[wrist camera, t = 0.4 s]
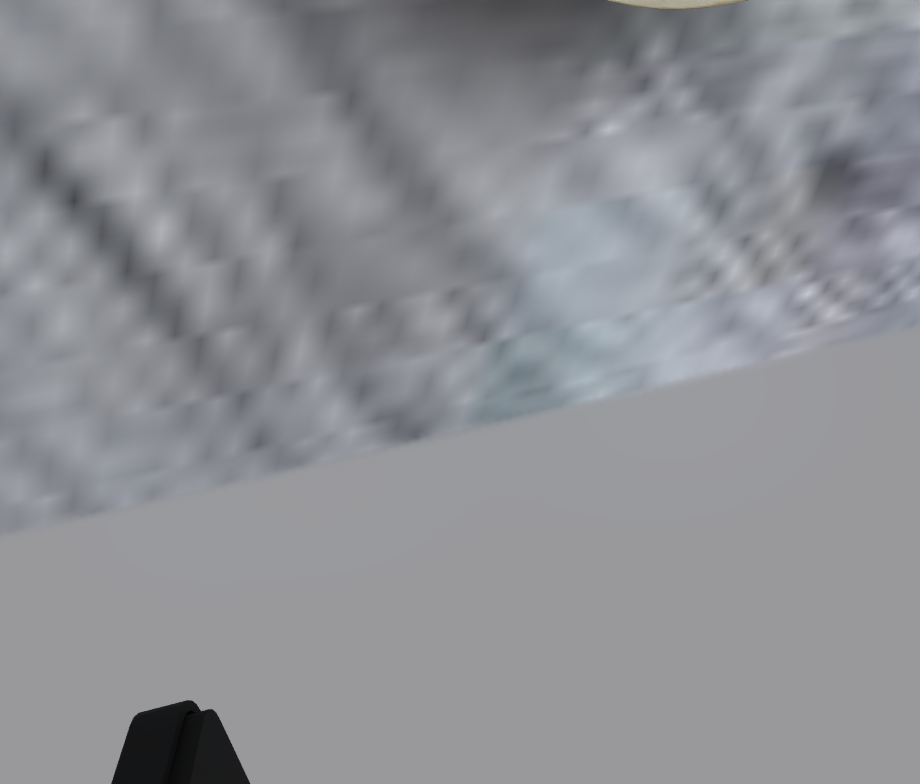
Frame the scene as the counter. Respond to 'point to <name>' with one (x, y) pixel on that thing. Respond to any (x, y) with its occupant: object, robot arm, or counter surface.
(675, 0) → the plant pot
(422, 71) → the counter surface
